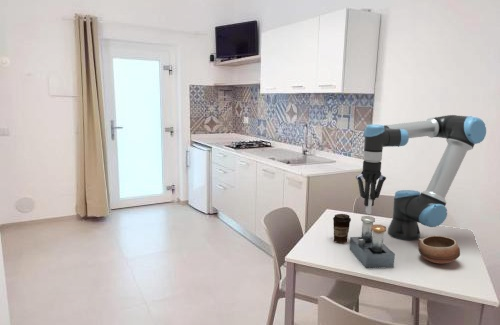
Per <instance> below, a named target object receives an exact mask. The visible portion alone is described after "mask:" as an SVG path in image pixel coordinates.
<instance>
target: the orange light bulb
mask: <svg viewBox="0 0 500 325" xmlns="http://www.w3.org/2000/svg"><path fill="white" fill-rule="evenodd" d="M371 230H372V247H371V250H372V251H374V252H382V249H383V244H384V236H385V235H384V234H385V232H386V231H387V227H386V226H385V225H383V224H373V225H372V226H371Z"/></svg>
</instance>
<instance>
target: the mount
mask: <svg viewBox="0 0 500 325" xmlns="http://www.w3.org/2000/svg"><path fill="white" fill-rule="evenodd" d="M361 237H362V236H350V237H349V238H350V239H349V250H350V251H351V253H352V254H353V256H354V257H355V258H356V259H357V260H358V261H359V263H360V264H361V265H362V266H363V267H364V268H365V269H389V268H394V267H395V260H396V259H395V256H396V254H395V252H393V251H392V250H391V249H390V248H389V247H388V246H386V244H384V243H383V249H382V252H374V251H372V250H371V247H372V241H370V242H366V241H365V246H364V247H361V246H358V240H359V239H361Z"/></svg>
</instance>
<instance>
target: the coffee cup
mask: <svg viewBox="0 0 500 325" xmlns="http://www.w3.org/2000/svg"><path fill="white" fill-rule="evenodd" d="M332 220H333V242H335V243H339V244H346V243H348V237H349V231H350V223H351V221H352V219H351V216H350V215H349V214H347V213H337V214H335V215H334V217H333V218H332Z"/></svg>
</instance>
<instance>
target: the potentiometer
mask: <svg viewBox="0 0 500 325" xmlns="http://www.w3.org/2000/svg"><path fill="white" fill-rule="evenodd" d="M358 246H361V247H364V246H365V240H364V239H359V240H358Z"/></svg>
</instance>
